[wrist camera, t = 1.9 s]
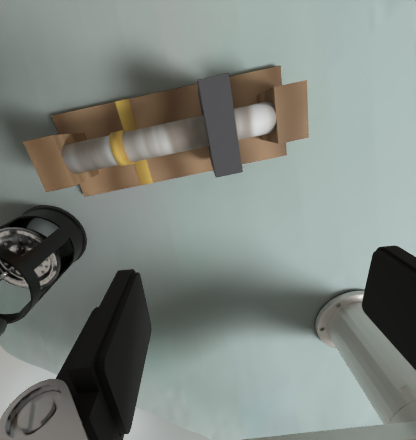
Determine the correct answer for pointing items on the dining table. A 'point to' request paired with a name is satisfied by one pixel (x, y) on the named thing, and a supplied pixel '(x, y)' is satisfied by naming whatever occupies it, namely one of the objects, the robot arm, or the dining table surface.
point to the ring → (220, 124)
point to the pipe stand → (166, 135)
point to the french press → (37, 254)
